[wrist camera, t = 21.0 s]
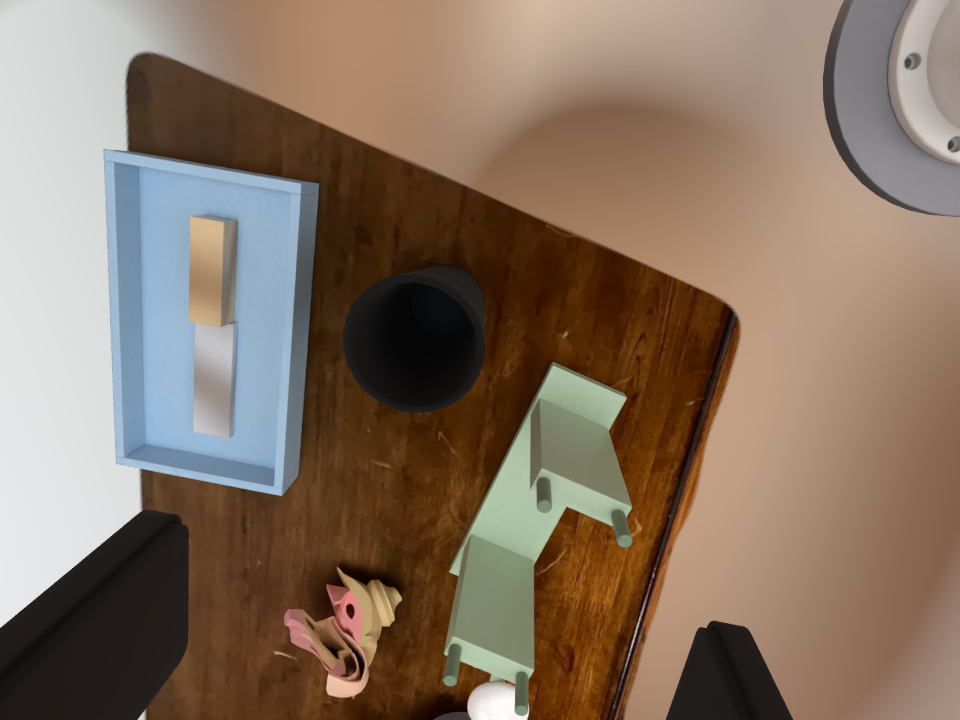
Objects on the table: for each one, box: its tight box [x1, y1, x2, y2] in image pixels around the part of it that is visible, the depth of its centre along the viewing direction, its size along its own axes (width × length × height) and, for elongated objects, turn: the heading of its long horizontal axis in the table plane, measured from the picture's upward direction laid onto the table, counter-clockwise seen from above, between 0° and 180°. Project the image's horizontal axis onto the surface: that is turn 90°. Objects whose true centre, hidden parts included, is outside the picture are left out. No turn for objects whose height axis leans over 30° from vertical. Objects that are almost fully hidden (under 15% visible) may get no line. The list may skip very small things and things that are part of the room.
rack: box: [443, 362, 632, 716], centre depth 38 cm, size 20×6×14 cm, turn 157°
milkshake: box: [467, 668, 529, 720], centre depth 45 cm, size 4×5×10 cm
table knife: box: [189, 215, 238, 439], centre depth 42 cm, size 17×3×2 cm, turn 170°
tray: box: [104, 149, 319, 496], centre depth 42 cm, size 23×13×3 cm, turn 171°
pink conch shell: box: [284, 567, 402, 697], centre depth 47 cm, size 9×10×10 cm
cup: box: [343, 265, 485, 413], centre depth 36 cm, size 8×8×12 cm
